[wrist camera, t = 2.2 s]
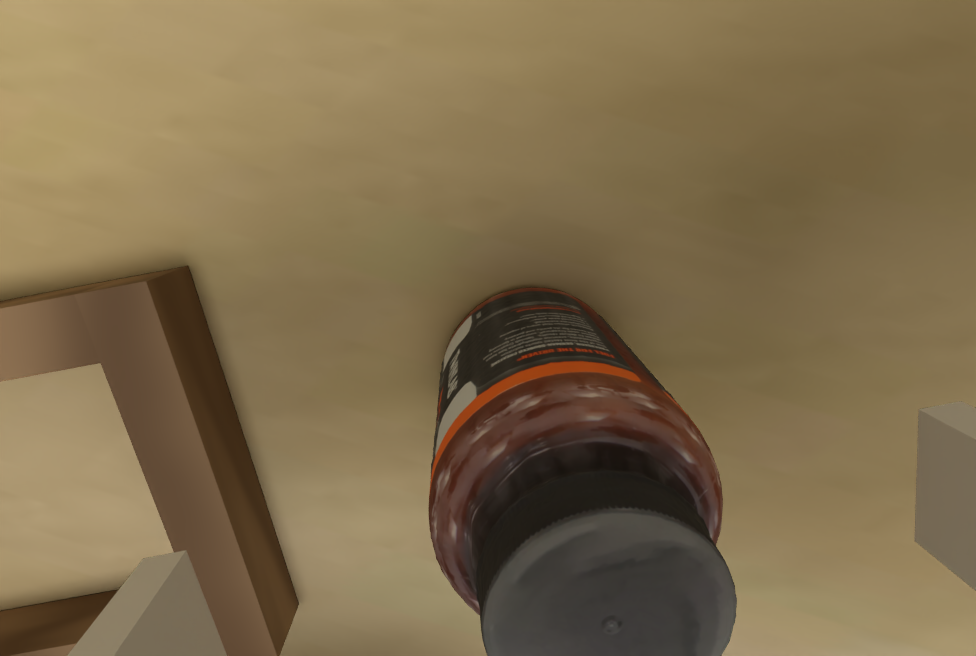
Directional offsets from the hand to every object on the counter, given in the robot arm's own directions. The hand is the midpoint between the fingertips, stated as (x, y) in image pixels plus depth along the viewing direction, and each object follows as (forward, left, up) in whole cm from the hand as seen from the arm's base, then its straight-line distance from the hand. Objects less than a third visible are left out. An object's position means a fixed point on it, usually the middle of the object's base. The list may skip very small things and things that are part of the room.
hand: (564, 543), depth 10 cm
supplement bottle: (0, 0, -10) cm, 10 cm away
